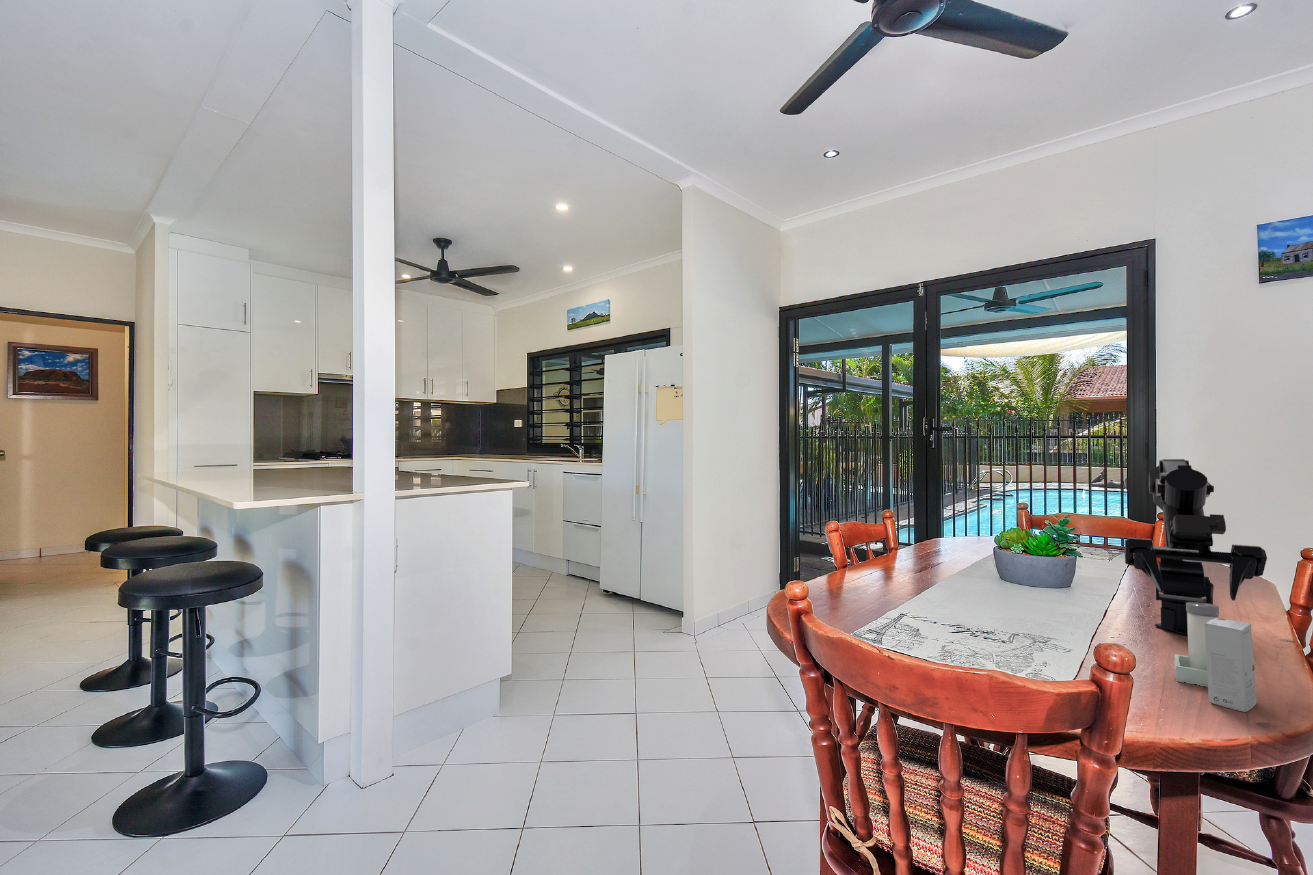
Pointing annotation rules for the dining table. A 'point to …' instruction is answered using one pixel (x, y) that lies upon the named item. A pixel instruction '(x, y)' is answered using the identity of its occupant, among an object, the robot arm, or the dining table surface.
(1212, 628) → the skincare box
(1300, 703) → the dining table surface
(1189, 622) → the cylinder
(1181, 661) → the tray
